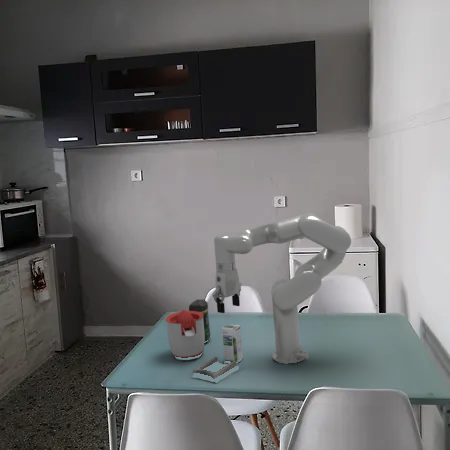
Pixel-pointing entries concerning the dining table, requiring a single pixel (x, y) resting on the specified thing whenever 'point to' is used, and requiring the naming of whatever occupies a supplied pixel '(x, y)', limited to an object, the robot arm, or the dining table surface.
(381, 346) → the dining table surface
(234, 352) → the syrup box
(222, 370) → the rail board
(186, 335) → the citrus juicer
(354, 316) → the dining table surface
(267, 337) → the dining table surface
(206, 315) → the coffee jar
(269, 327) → the dining table surface
